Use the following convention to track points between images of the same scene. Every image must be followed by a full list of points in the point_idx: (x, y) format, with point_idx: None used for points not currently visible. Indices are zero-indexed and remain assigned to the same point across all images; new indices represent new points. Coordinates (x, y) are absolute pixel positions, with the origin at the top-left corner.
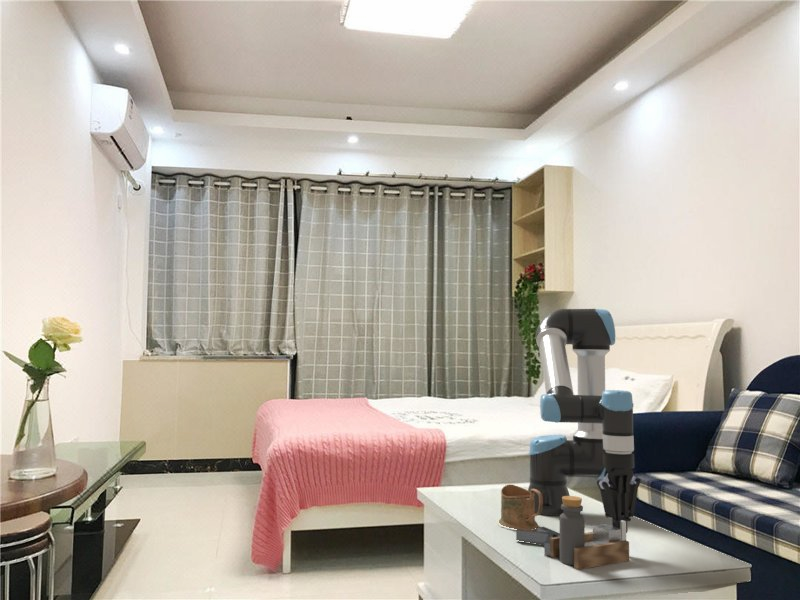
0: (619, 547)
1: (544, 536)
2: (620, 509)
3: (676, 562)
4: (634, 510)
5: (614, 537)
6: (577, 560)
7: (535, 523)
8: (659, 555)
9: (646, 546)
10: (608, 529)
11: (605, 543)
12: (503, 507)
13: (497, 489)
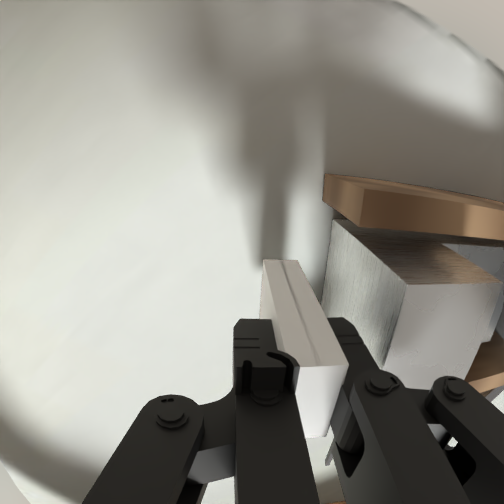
0: (427, 194)
1: None
2: (404, 473)
3: (108, 53)
4: (117, 450)
5: (435, 262)
6: None
7: None
8: (95, 168)
9: (62, 297)
10: (477, 312)
11: (497, 236)
12: None
13: None
